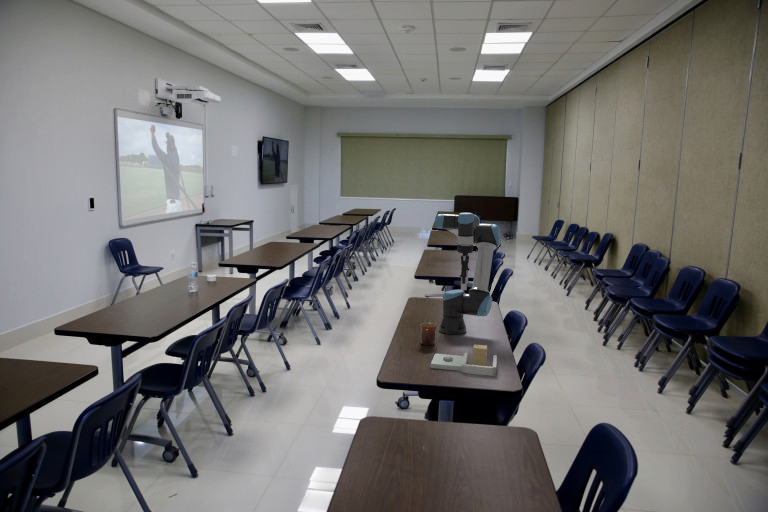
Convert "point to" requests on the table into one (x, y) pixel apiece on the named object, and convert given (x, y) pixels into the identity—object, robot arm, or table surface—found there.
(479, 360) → the chute block
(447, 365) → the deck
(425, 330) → the mug
